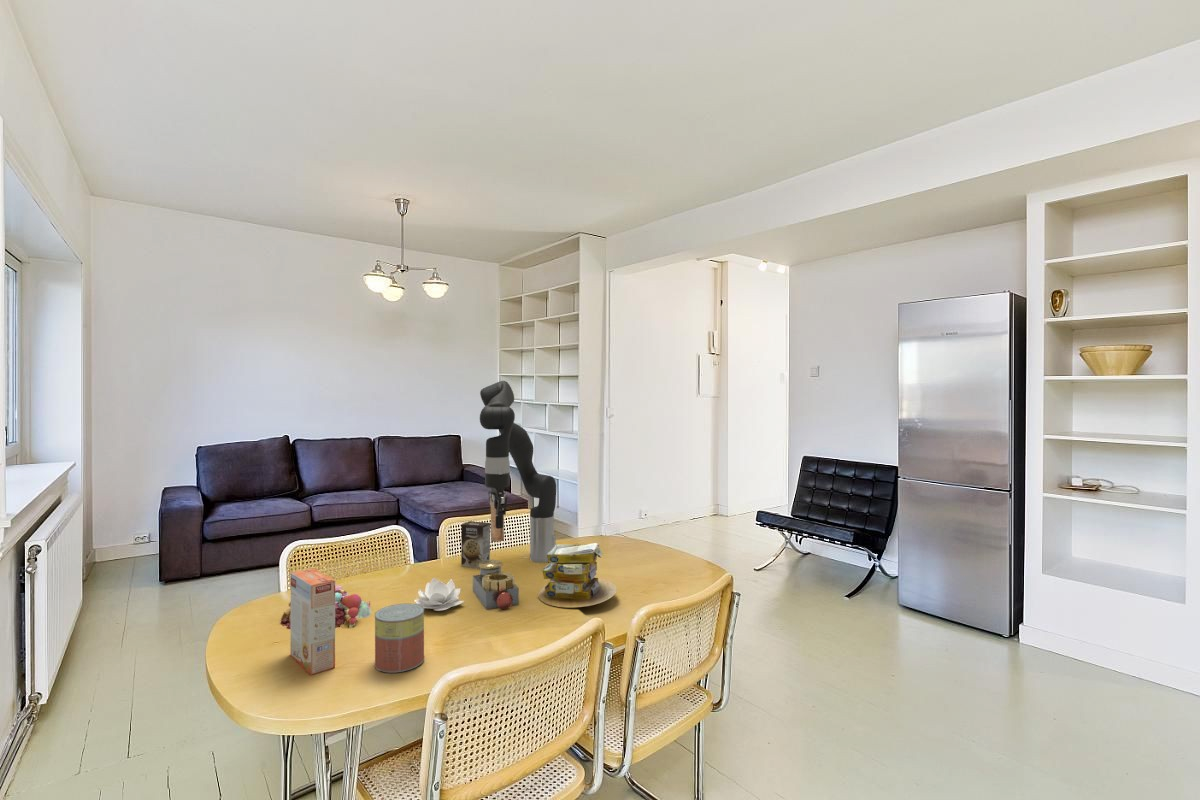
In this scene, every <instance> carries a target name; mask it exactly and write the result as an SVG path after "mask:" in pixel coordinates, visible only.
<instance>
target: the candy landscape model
mask: <svg viewBox="0 0 1200 800" xmlns="http://www.w3.org/2000/svg"><path fill="white" fill-rule="evenodd" d="M288 607H289V608H288V609H286V610H285V611H284V612H283V614H282V616H281V618H280V624H281V626H282V627H286V629H287V630H291V601H289V603H288ZM371 615H372V609H371V601H370V600H369V602H366V601H364V600H363V599H362V598H361V596H360V595H359V594H356V593H353V594H349V593H348V591H346V590H344V589H343V587H342V586H341V585H337V584H336V583H335V628H340V627H341V626H342V625H343V624H345V623H346V622H347V618H348V617H349V619H348V623H349V625H348V627H349V629H350V628H353V627H354V626H356V622H357V619H365V618H369V617H370V616H371Z"/></svg>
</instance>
